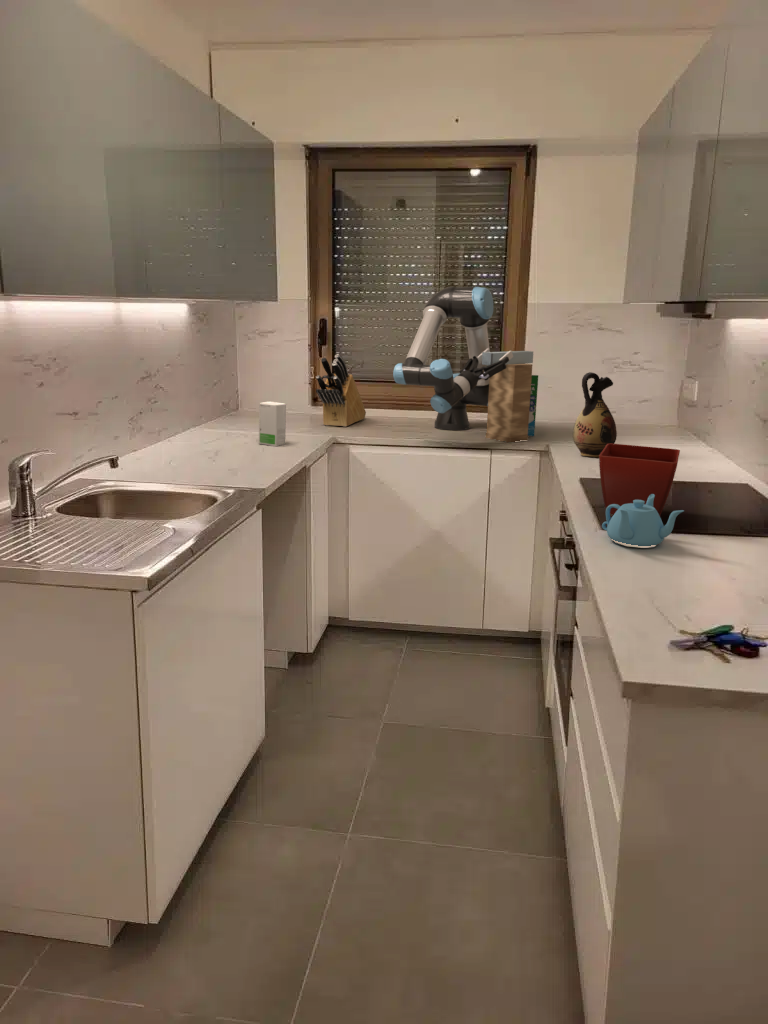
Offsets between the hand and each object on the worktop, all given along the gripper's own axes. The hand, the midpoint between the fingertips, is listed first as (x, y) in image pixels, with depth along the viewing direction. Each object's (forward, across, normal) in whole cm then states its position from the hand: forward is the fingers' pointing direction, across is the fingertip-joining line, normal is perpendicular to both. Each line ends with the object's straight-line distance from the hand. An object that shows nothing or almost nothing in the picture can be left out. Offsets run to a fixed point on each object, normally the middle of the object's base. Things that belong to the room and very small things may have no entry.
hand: (500, 352), depth 309 cm
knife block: (-41, -66, -16) cm, 80 cm away
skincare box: (-84, -41, +9) cm, 94 cm away
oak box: (-12, 0, -33) cm, 35 cm away
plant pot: (-60, +98, -5) cm, 115 cm away
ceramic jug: (-11, +40, -34) cm, 54 cm away
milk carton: (+1, -5, -41) cm, 41 cm away
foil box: (+2, 0, -6) cm, 6 cm away
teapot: (-79, +114, +6) cm, 139 cm away
